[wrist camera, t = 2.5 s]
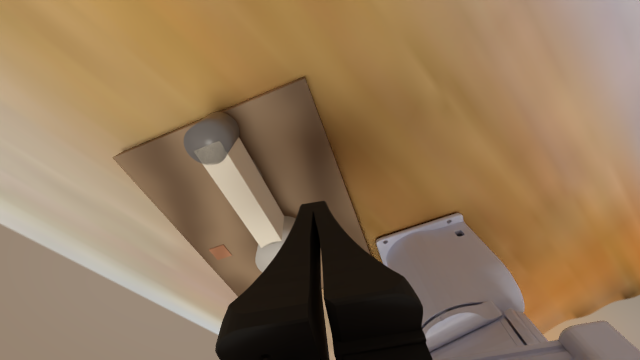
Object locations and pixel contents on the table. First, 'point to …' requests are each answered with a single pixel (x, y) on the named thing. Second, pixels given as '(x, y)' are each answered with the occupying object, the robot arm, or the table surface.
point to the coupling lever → (239, 182)
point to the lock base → (270, 160)
